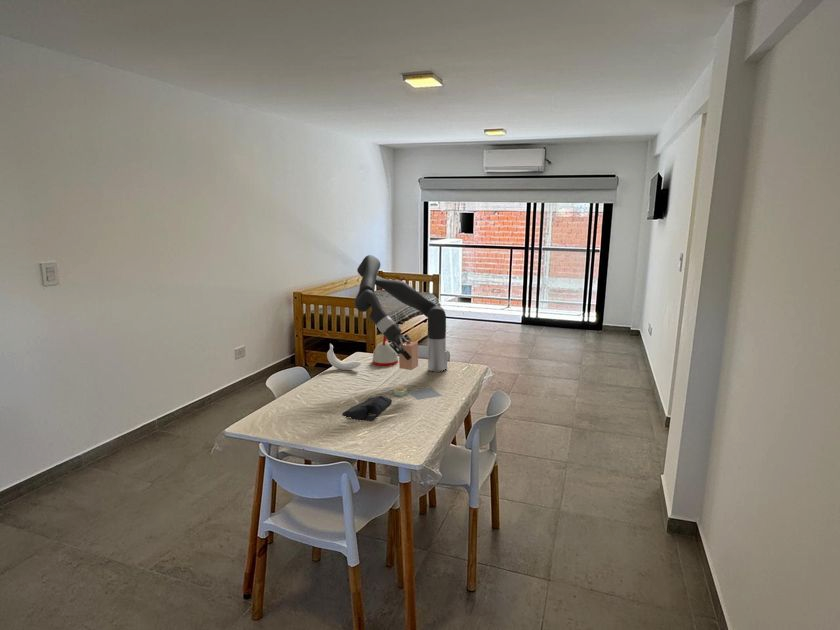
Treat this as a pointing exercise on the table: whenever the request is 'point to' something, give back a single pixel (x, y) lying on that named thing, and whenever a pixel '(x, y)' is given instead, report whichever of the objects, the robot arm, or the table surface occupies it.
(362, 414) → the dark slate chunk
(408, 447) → the table surface
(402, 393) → the dish
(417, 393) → the mat
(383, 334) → the robot arm
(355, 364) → the banana
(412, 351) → the tan rectangular block
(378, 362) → the kitchen timer
